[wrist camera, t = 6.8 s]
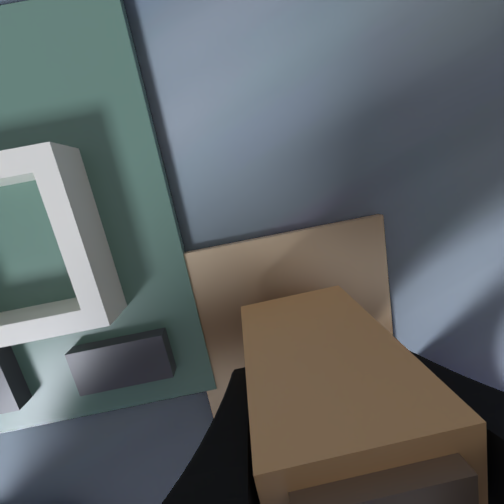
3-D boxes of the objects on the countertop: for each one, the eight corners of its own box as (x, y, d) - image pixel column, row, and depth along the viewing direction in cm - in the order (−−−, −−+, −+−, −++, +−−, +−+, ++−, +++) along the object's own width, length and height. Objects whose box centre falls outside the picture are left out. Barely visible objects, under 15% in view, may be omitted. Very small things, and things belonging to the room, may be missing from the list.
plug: (350, 371, 13) (508, 616, 5) (260, 391, 13) (298, 668, 5) (338, 285, 12) (508, 442, 5) (240, 306, 12) (255, 501, 4)
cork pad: (393, 390, 15) (398, 395, 14) (218, 426, 15) (217, 433, 14) (378, 213, 13) (383, 215, 12) (173, 254, 13) (171, 256, 12)
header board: (217, 381, 14) (214, 419, 12) (-35, 433, 14) (-87, 481, 12) (121, -6, 10) (90, -59, 8) (-224, 55, 10) (-355, 18, 8)
